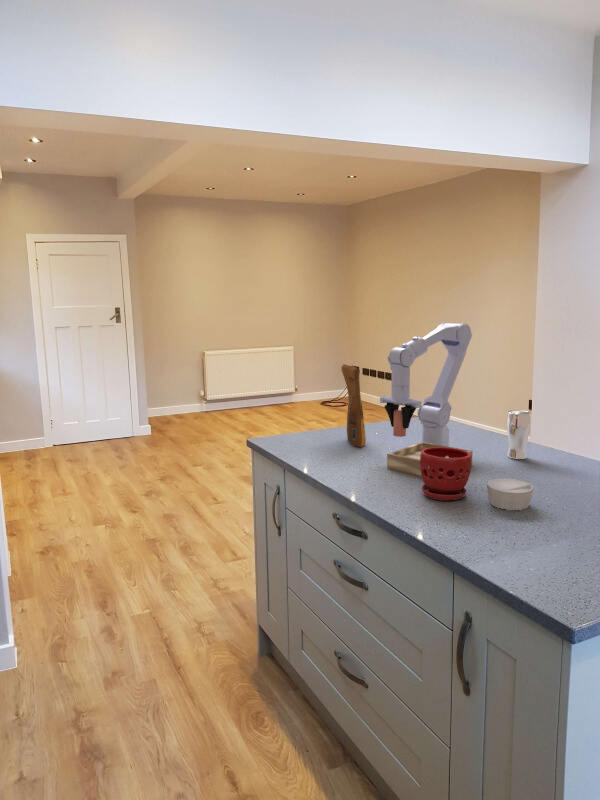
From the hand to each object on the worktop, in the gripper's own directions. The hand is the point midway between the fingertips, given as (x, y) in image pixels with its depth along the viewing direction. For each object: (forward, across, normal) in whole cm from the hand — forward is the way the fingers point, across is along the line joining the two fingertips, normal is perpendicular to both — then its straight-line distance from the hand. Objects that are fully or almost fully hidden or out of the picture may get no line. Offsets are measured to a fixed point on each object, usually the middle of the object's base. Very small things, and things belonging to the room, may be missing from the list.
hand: (399, 427), depth 197 cm
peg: (+3, 0, 0) cm, 3 cm away
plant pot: (+11, +30, -22) cm, 39 cm away
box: (+10, +12, -2) cm, 16 cm away
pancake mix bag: (+11, -25, +8) cm, 28 cm away
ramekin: (+11, +46, -18) cm, 50 cm away
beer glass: (+10, +28, +26) cm, 39 cm away
